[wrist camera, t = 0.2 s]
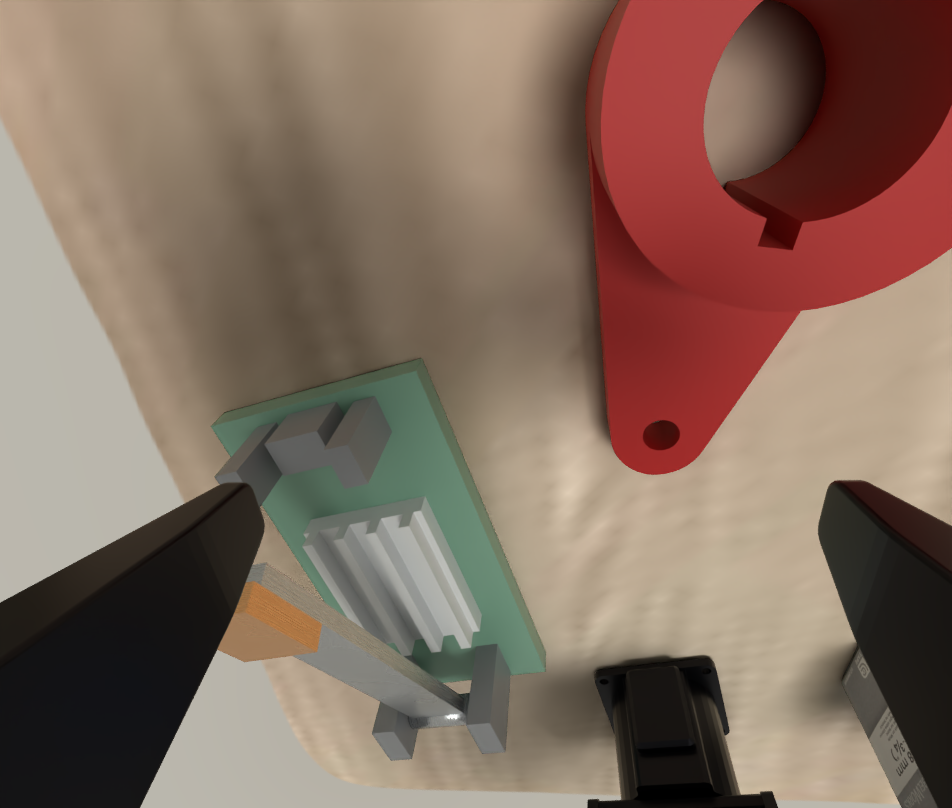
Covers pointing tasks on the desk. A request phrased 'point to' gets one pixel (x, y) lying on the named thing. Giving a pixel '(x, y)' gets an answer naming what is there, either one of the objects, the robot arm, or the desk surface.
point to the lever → (751, 203)
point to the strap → (334, 649)
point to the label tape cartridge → (885, 735)
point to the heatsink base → (392, 533)
